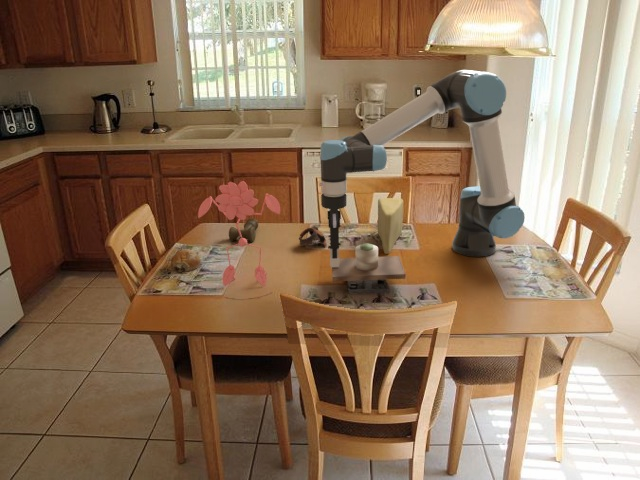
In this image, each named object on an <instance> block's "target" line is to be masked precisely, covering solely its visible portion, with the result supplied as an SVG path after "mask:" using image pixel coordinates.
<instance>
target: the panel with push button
mask: <svg viewBox="0 0 640 480" xmlns="http://www.w3.org/2000/svg"><path fill="white" fill-rule="evenodd" d="M354 252H355V257H344V258H340V257H339V267H331V279H332V281H331V282H348V281H357V280H383V279H386V280H401V279H403V280H404V279H406V272H405V269H404V266H403V263H402V260H401V257H400V255H398V256H397V255H393V256H392V255H391V256H389V255H388V256H379V247H378V246H377V245H375V244H372V243H362V244H359V245H357V246H356V247H355V250H354Z"/></svg>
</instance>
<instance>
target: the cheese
mask: <svg viewBox="0 0 640 480" xmlns="http://www.w3.org/2000/svg"><path fill="white" fill-rule="evenodd" d="M403 219H404V200H403V199H402V198H395V197H392V198H391V197H380V198H378V200H377V228H376V229H377V234H378V237H379V239H380V240H381V244H382V245H381V246H382V250H383V253H384V254H385V255H390V253H391V252H392V250H393V247H394V246H395V243H396V242H397V240H398V238H399V237H400V236H401V234H402V231H403Z"/></svg>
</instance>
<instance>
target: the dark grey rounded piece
mask: <svg viewBox="0 0 640 480" xmlns="http://www.w3.org/2000/svg"><path fill="white" fill-rule="evenodd" d="M258 227H259V222H258V220H257V219H255V218H252V217H250V218H248V219H247V220H246V221H245V223H244V224H243V229H240V232H241V235H242V238H245V239H246V240H247V241H249V242H250V243H254V242H255V241H256V230H257V229H258ZM228 239H229V241H230V242H234V241H239V240H240V239H241V236H240V234H239V231H238V229H237V227H234V226H231V227H230V228H229V229H228Z"/></svg>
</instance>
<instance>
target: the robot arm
mask: <svg viewBox="0 0 640 480" xmlns="http://www.w3.org/2000/svg"><path fill="white" fill-rule="evenodd" d="M506 89H507V88H506V85H505V83H504V81H503V80H502V79H501V78H500V77H499V76H498V75H497V74H495V73H492V72H488V71H486V70H485V71H484V70H481V71H478V70H471V69H461V70H457V71H454V72H452V73H450V74H448V75H446V76H444V77H443V78H441V79H439V80H437V81H436V82H434V83H432V84H430V85H429V86H428V87H427V88H426V91H425V92H424V93H423V94H420V95H419V96H417V97H415V98H414V99H412V100H411V101H409V102H407V103H406V104H404V105H402V106H401V107H399V108H398V109H395V110H394V111H392V112H391V113H389V114H387V115H386V116H384V117H383V118H380V119H379V120H378V121H376V122H374V123H373V124H371V125H369V126H368V127H366V128H364V129H363V130H361V131H359V132H357V133H356V134H354V135H347V136H343V137H342V138H341V139H340V140H339V139H330V140H324V141H323V142H322V143H321V145H320V154H319V155H320V157H319V160H320V161H319V162H320V182H319V183H318V185H319V187H321V191H320V192H321V193H322V194H321V196H320V198H321V200H320V203H321V204H320V205H321V207H322V208H323V209H329V210H327V220H328V228H329V241H330V242H329V245H328V246H327V248H328V249H329V266H330V267H329V268H332V267H339V258H340V246H341V245H342V243H341V242H340V235H339V234H340V231H339V230H340V228H341V219H342V218H341V217H342V213H341V209H344V208H346V206H347V194H346V193H347V192H348V190H347V186H348V185H347V184H348V183H347V182H348V180H347V179H348V178H347V174H348V173H349V174H352V173H364V172H365V173H367V172H377V171H381V170H384V168H386V165H387V159H388V158H387V150H386V148H385V147H384V146H385V145H386V144H388V143H390V142H391V141H393V140H395V139H396V138H398V137H399V136H401V135H403V134H404V133H406V132H408V131H409V130H412V129H413V128H414V127H416V126H418V125H420V124H422V123H423V122H425V121H426V120H428V119H430V118H432V117H433V116H435V115H436V114H442V115H443V114H445V113H446V112H448V111H451V110H453V109H460V113H461V118H462V119H461V120H462V122H463V123H464V124H466V125H467V126H468V128H469V135H470V141H471V145H472V151H473V158H474V163H475V168H476V174H477V179H478V184H479V185H477V186H468V187H465V188H463V189H462V190H461V192H460V193H461V194H460V197H459V198H460V203H459V216H458V217H459V218H458V229H457V231H456V233H455V235H454V238H453V240H452V243H451V245H452V247H451V248H452V250H453V251H454V252H456V253H458V255H459V254H460V255H462V256H468V257H477V258H478V257H489V256H491V255H493V254H495V253H496V249H497V248H496V247H497V246H496V245H497V244H496V239H495V237H496V238H498V239H508V238H511V237H513V236H515V235H516V234H517V233H519V231H520V230H521V229H522V227H523V226H524V223H525V213H524V211H523V209H522V208H521V207H520V206H518V205H517V203H516V197H515V193H514V191H513V190H511V189H510V188H509V184H508V178H507V170H506V164H505V159H504V153H503V152H504V151H503V145H502V140H501V134H500V133H501V132H500V128H499V121H498V119H499V118H500V116H502V113H503V112H502V108H503V107H504V103H505V101H506V99H507V90H506Z"/></svg>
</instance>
